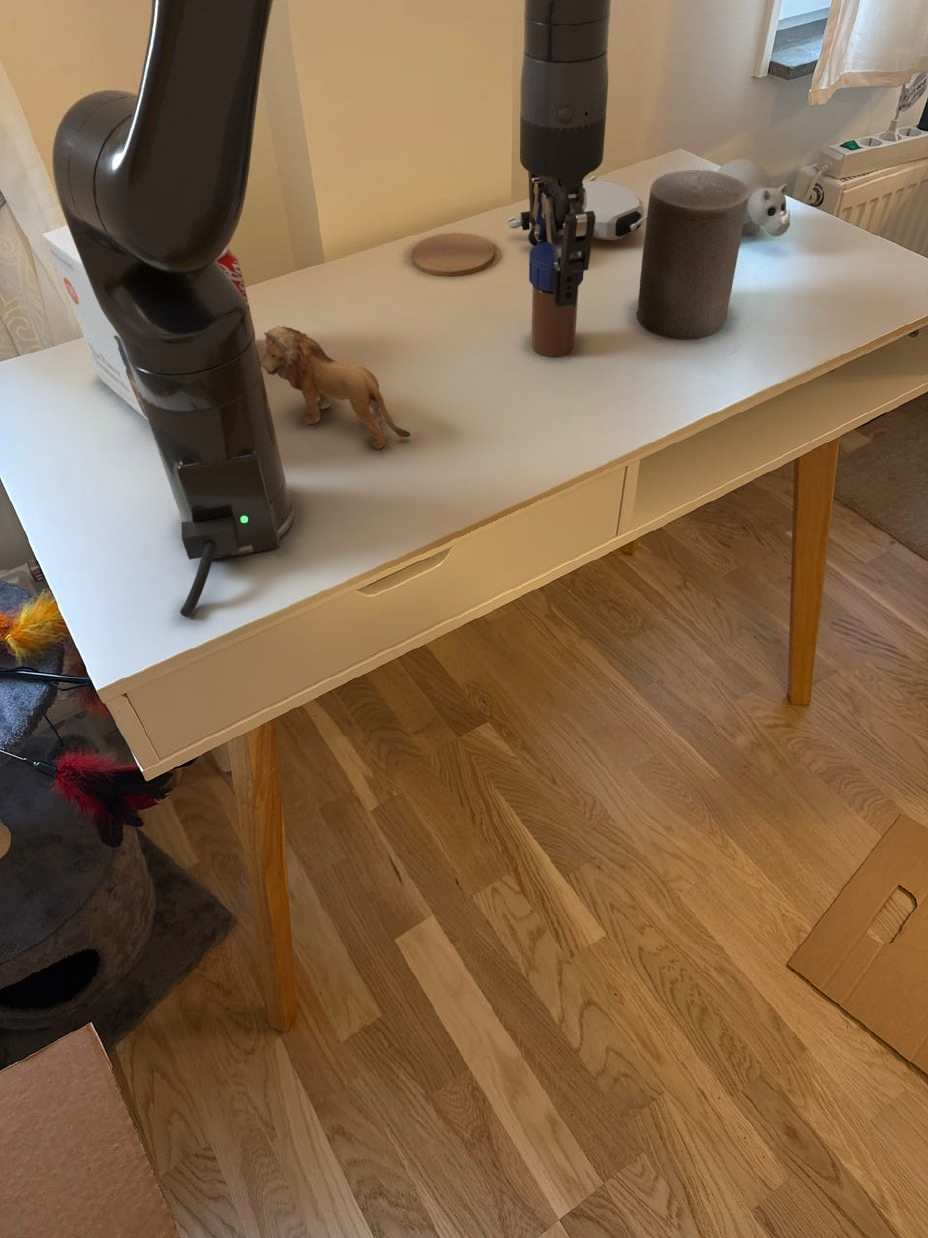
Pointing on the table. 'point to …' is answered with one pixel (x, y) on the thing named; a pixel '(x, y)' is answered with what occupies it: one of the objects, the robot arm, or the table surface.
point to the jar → (552, 325)
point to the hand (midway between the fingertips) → (556, 289)
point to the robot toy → (601, 211)
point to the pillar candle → (690, 252)
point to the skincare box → (93, 319)
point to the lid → (544, 267)
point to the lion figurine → (325, 379)
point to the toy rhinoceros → (760, 198)
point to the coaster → (452, 254)
